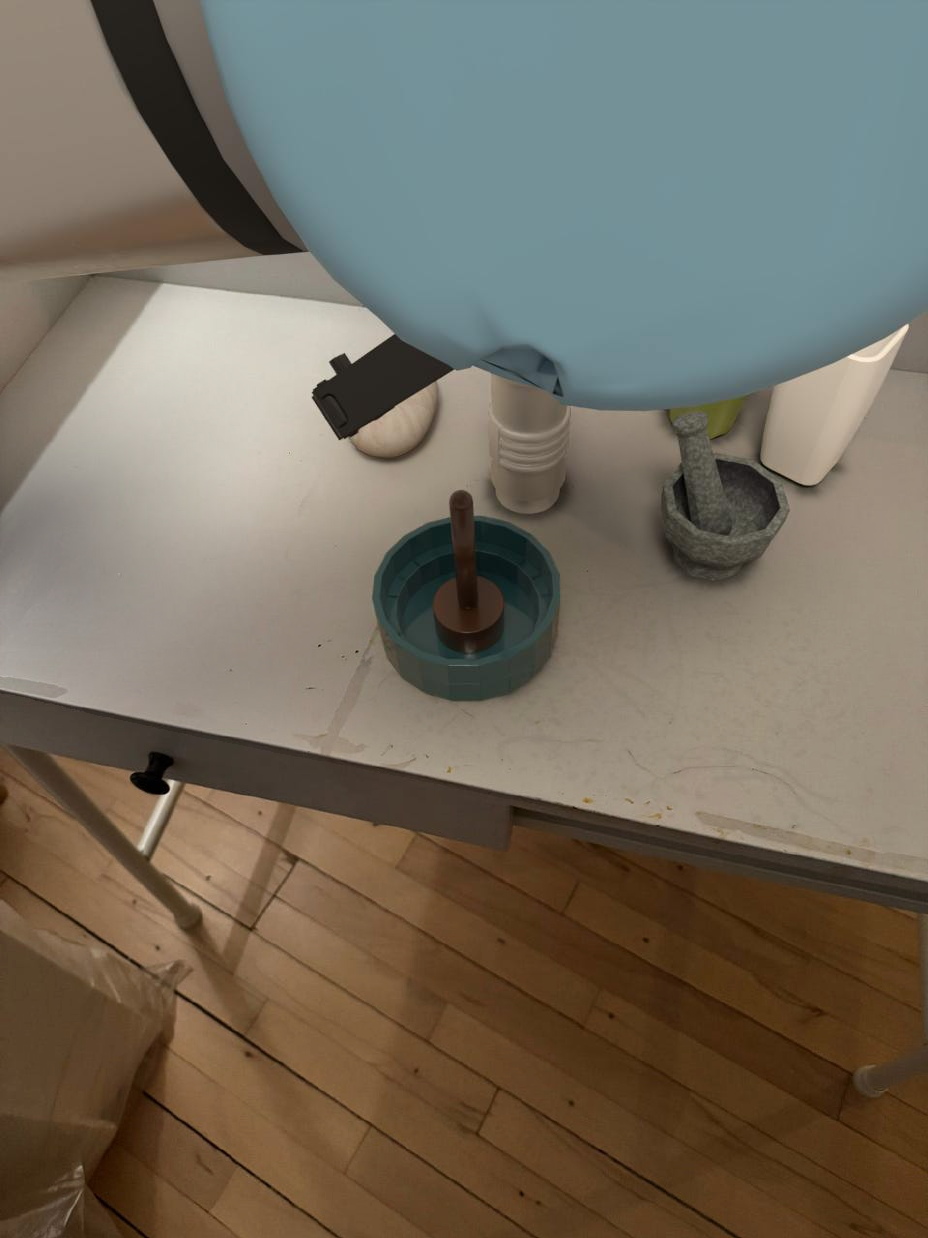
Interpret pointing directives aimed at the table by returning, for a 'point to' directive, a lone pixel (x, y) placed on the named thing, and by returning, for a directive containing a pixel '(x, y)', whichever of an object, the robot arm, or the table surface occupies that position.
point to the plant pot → (715, 414)
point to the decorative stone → (399, 426)
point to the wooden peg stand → (467, 590)
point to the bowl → (410, 619)
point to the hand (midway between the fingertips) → (422, 357)
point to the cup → (824, 411)
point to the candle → (526, 445)
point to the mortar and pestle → (718, 505)
